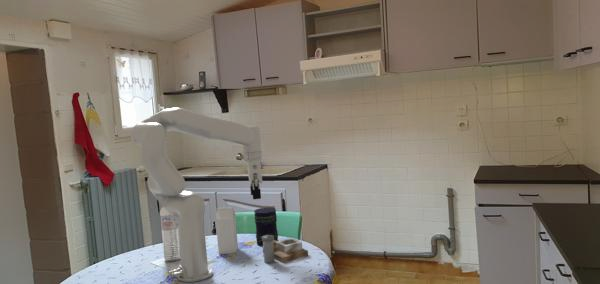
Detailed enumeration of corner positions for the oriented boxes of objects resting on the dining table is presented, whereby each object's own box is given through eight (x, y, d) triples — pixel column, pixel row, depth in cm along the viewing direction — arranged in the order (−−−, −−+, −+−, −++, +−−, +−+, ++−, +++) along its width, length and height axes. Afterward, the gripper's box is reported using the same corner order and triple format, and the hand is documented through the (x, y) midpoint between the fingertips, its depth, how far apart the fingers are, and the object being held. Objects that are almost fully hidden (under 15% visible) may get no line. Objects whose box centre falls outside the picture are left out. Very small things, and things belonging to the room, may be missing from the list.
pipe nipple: (267, 264, 170) (265, 239, 169) (261, 261, 174) (259, 236, 173) (277, 261, 172) (275, 236, 172) (271, 258, 176) (269, 234, 175)
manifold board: (282, 262, 170) (281, 250, 170) (263, 252, 184) (262, 241, 184) (308, 255, 177) (307, 243, 176) (287, 246, 190) (286, 235, 190)
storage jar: (253, 242, 200) (251, 209, 199) (273, 238, 204) (271, 206, 203) (261, 247, 191) (258, 214, 190) (281, 243, 195) (279, 210, 194)
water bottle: (160, 261, 182) (155, 202, 180) (172, 255, 188) (167, 198, 186) (173, 263, 179) (167, 202, 177) (184, 257, 185) (179, 198, 183)
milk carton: (235, 253, 186) (231, 209, 184) (218, 254, 186) (214, 210, 185) (238, 247, 193) (234, 205, 192) (222, 248, 193) (218, 206, 192)
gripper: (264, 157, 174) (267, 199, 175) (259, 153, 191) (262, 192, 192) (245, 158, 172) (248, 201, 174) (242, 154, 189) (245, 194, 191)
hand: (255, 196), depth 183 cm, fingers open, 9 cm apart
